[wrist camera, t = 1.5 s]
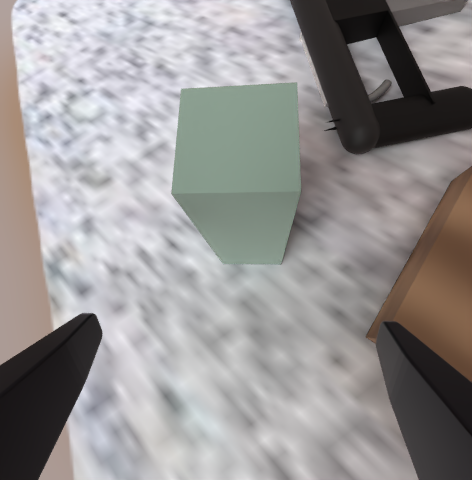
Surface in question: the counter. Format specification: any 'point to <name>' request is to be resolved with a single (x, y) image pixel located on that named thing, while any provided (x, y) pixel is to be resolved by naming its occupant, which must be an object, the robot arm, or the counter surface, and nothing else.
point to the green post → (239, 168)
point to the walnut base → (439, 282)
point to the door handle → (405, 71)
